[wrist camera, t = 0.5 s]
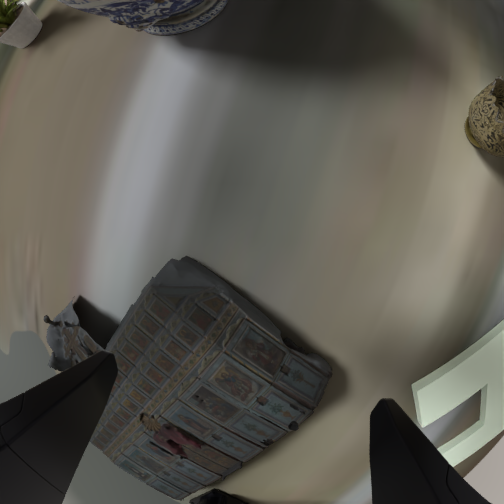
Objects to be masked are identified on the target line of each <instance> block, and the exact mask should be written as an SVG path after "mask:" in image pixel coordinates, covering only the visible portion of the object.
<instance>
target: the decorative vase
mask: <svg viewBox="0 0 504 504" xmlns="http://www.w3.org/2000/svg"><path fill="white" fill-rule="evenodd" d="M58 1H60V2H62V3H64V4H66V5H68V6H70V7H73V8H76V9H78V10H81V11H84V12H88V13H92V14H96V15H100V16H105V17H108V18H109V19H110V20H111V22H113V23H118V24H119V25H125V26H126V27H128V28H135V30H136V31H143V30H144V31H145V32H147V33H150V34H155V35H172V34H178V33H182V32H187V31H190V30H192V29H195V28H197V27H200V26H202V25H204V24H206V23H207V22H209V21H210V20H212V19H213V18H215V17H216V16H217V15H218V14H219V13H220V12H221V11H222V10H223V9H224V8H225V6H226V4H227V2H228V0H58Z"/></svg>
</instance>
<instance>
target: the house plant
mask: <svg viewBox="0 0 504 504" xmlns="http://www.w3.org/2000/svg"><path fill="white" fill-rule="evenodd" d="M16 1H19V0H12V2H11V3H10V0H7V7H6V5H5V2H4V0H0V42H1V43H5V44H8V45H12V46H15V47H19V48H25V47H26V46H27V45H29V44H30V43H31V42H32V41H33V40H34V39H35V38H36V36H37V35H38V33H39V32H40V30H41V28H42V22H41V21H40V20H39V19H38V17H37V16H36V15H35V14H34V12H33V11H32V10H31V9H30V8H29V6H28V5H27V4H26V3H25V2H22V3H20V4H18V5H17V4H16ZM13 2H15V4H14V5H12V3H13Z"/></svg>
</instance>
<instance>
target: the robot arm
mask: <svg viewBox="0 0 504 504" xmlns="http://www.w3.org/2000/svg"><path fill="white" fill-rule="evenodd" d="M117 375H118V367H117V363H116V359H115V355H114V354H113V353H111V352H109V351H106V350H102V351H100V352H98V353H96V354H94V355H92V356H90V357H89V358H87V359H85V360H83V361H81V362H79V363H78V364H76V365H74V366H72V367H70V368H68V369H67V370H65V371H63V372H61V373H59V374H57V375H55V376H54V377H52V378H50V379H48V380H46V381H44V382H42V383H41V384H39V385H37V386H35V387H33V388H31V389H29V390H28V391H26V392H25V393H22V394H20V395H18V396H16V397H14V398H12V399H10V400H8V401H6V402H3V403H1V404H0V504H62V502H63V500H64V497H65V494H66V492H67V490H68V487H69V485H70V483H71V480H72V478H73V476H74V473H75V471H76V469H77V467H78V464H79V462H80V460H81V458H82V456H83V453H84V451H85V449H86V447H87V445H88V443H89V441H90V439H91V437H92V434H93V432H94V430H95V428H96V426H97V424H98V422H99V420H100V418H101V416H102V414H103V412H104V410H105V407H106V405H107V402H108V399H109V396H110V394H111V391H112V388H113V385H114V383H115V380H116V378H117ZM370 468H371V484H372V504H491V503H490V502H488V501H487V500H486V499H484V497H482V496H481V495H480V494H479V493H478V492H477V491H476V490H475V489H473V488H472V487H471V486H470V485H469V484H468V483H467V482H466V481H465V480H464V479H463V478H462V477H461V476H460V475H459V474H458V472H457V471H456V470H455V469H454V468H453V467H452V466H451V465H450V464H449V462H448V461H447V460H446V459H445V458H444V457H443V455H442V454H441V453H440V452H439V451H438V450H437V448H436V447H435V446H434V445H433V444H432V443H431V442H430V440H429V439H428V438H427V437H426V436H425V435H424V434H423V432H422V431H421V430H420V429H419V428H418V427H417V426H416V424H415V423H414V422H413V421H412V420H411V419H410V418H409V416H408V415H407V414H406V413H405V412H404V411H403V410H402V408H401V407H400V406H399V405H398V404H397V403H396V402H395V401H394V400H393V399H392V398H383V399H381V400H380V401H379V402H378V404H377V405H376V406H375V408H374V409H373V411H372V412H371V415H370ZM189 503H190V504H248V503H245V502H243V501H240V500H238V499H236V498H233V497H231V496H229V495H227V494H225V493H222V492H220V491H218V490H216V489H212V490H210V491H208V492H206V493H204V494H202V495H200V496H198V497H195V498H193V499H191V500H190V502H189Z"/></svg>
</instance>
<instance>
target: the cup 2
mask: <svg viewBox="0 0 504 504" xmlns="http://www.w3.org/2000/svg"><path fill="white" fill-rule="evenodd" d="M502 77H503V76H500V77H497V78H496V79H495V80H494V81H493V82H492V83H491V84H489V85H488V86H487V87H486V88H485V89H483V90H482V91H481V92H480V93H479V94H478V95H477V96H476V97H475V98H474V100H473V101H472V103H471V105H470V108H469V116H468V117H467V119H466V121H465V132H466V135H467V137H468V139H469V140H470V142H471V143H472V144H473V145H474V146H476V147H478V148H483V149H484V150H485V151H487V152H488V153H490V154H492V155H494V156H498V157H504V80H501V78H502Z"/></svg>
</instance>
